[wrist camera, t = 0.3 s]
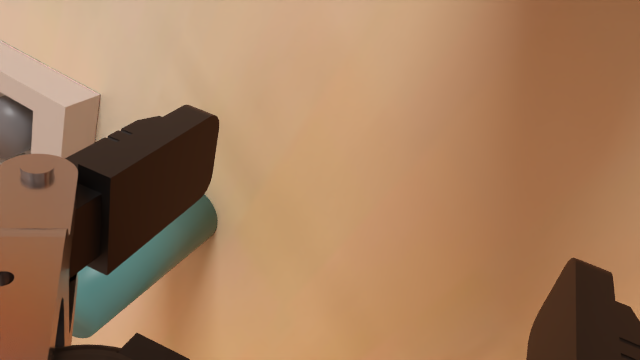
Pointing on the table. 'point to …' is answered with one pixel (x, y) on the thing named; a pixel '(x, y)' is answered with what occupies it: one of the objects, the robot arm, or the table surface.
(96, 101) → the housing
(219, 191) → the table surface
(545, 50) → the table surface
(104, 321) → the teal cylinder
